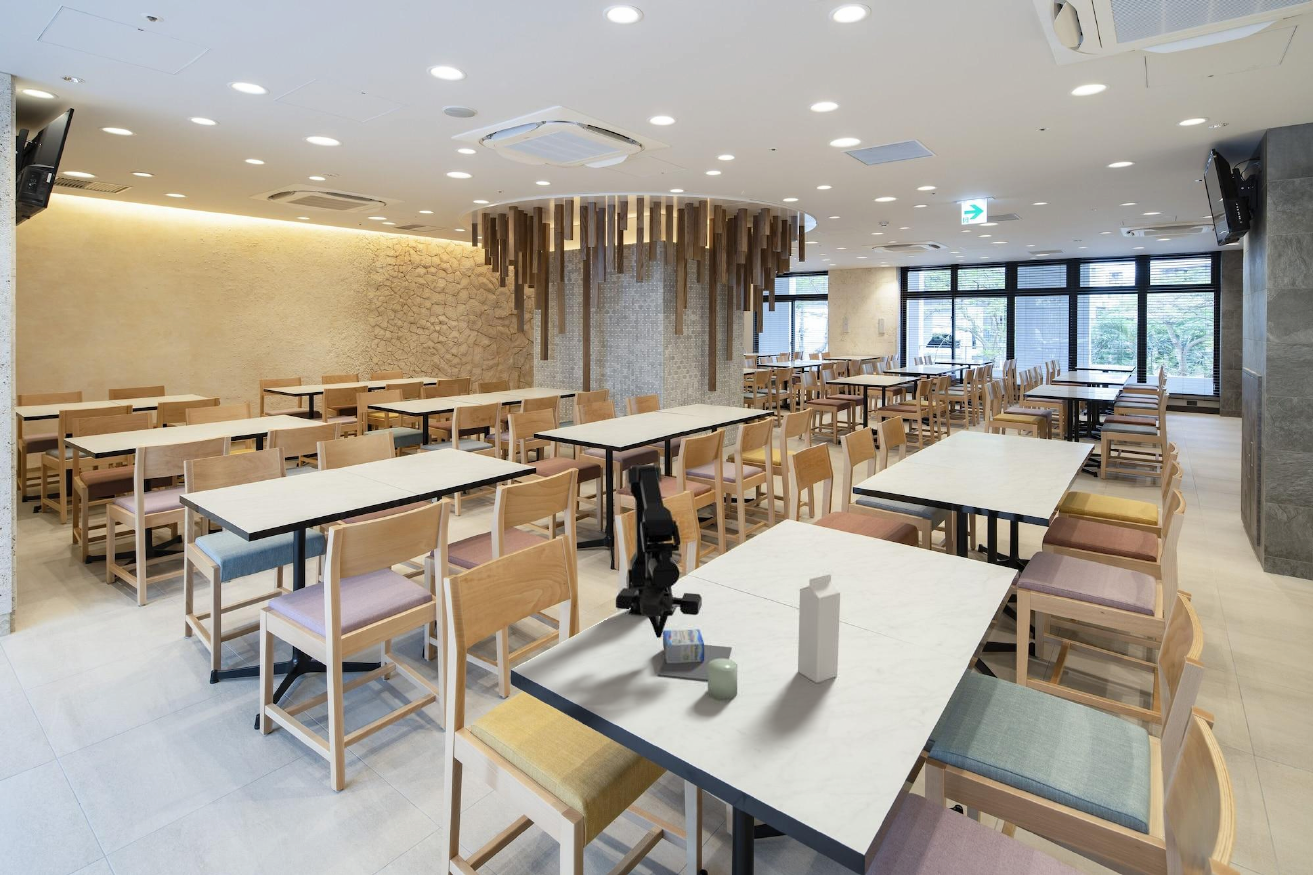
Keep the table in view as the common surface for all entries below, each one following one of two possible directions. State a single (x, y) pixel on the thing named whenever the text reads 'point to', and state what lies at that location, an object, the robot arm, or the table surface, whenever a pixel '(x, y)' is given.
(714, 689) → the pale green cylinder
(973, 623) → the table surface
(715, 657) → the mat
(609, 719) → the table surface
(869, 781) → the table surface
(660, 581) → the robot arm
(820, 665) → the milk
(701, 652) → the medicine box
